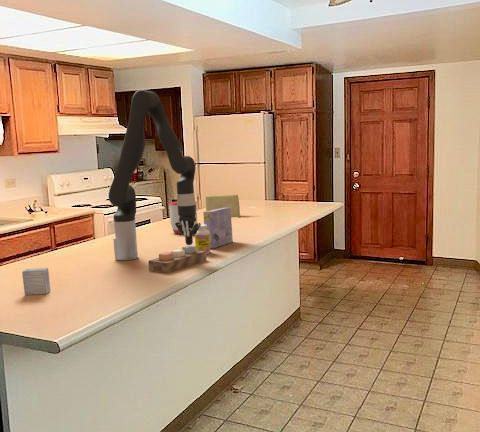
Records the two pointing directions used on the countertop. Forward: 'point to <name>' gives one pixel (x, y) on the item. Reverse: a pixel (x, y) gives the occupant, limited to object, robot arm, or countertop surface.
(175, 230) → the citrus juicer
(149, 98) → the robot arm
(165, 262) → the key panel
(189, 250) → the slate key
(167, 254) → the pink cube
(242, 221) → the countertop surface
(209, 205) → the cheese
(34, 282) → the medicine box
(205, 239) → the supplement bottle
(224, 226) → the cake pan box
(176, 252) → the cream cube
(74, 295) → the countertop surface
